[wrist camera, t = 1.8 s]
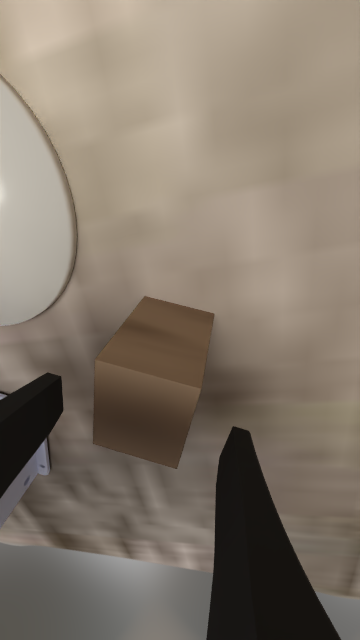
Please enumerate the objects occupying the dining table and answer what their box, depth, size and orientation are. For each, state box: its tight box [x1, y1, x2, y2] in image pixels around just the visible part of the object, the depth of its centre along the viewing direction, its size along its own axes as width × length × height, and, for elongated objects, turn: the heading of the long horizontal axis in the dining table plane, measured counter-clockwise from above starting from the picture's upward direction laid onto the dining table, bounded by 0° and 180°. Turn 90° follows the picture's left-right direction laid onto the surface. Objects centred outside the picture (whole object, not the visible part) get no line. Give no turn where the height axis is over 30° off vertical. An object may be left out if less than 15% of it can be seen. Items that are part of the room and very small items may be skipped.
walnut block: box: [93, 296, 214, 469], centre depth 13 cm, size 5×4×6 cm
